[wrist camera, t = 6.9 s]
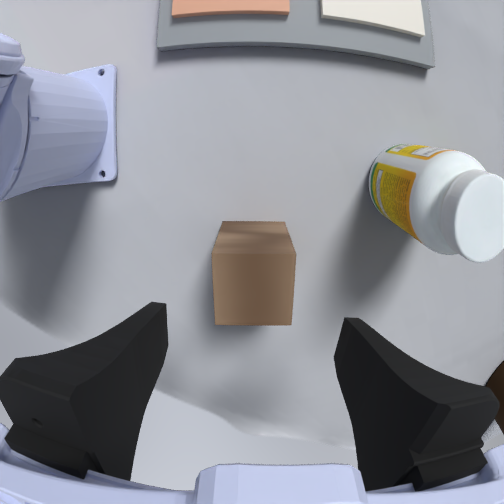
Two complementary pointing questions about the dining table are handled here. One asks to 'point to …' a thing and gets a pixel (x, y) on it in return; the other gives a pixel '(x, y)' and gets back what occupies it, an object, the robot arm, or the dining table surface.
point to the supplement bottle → (440, 199)
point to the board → (303, 26)
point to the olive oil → (498, 393)
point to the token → (253, 274)
